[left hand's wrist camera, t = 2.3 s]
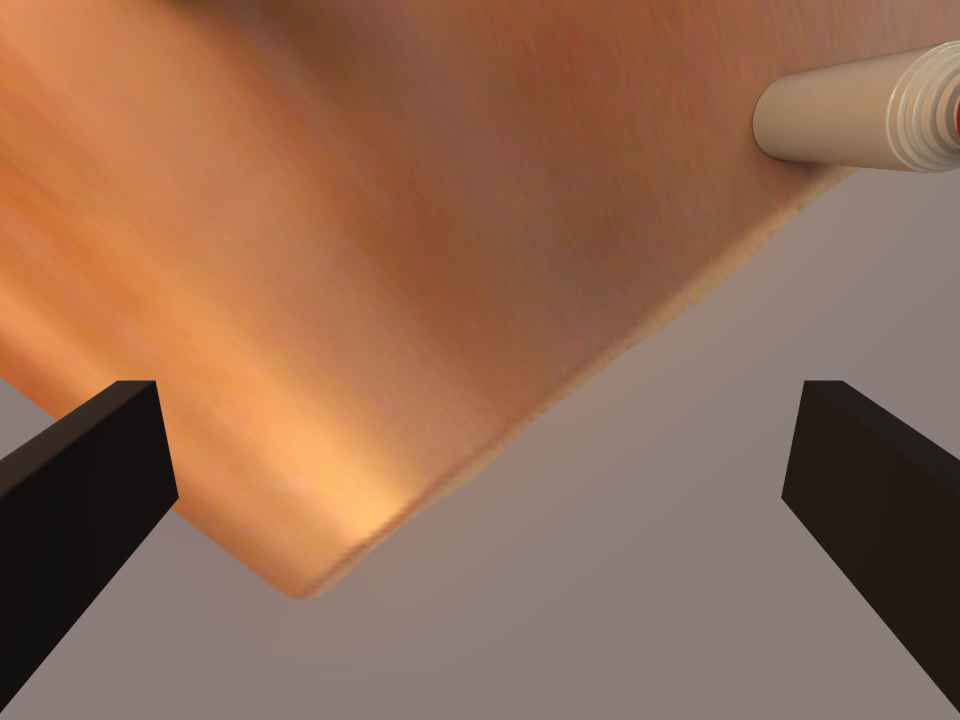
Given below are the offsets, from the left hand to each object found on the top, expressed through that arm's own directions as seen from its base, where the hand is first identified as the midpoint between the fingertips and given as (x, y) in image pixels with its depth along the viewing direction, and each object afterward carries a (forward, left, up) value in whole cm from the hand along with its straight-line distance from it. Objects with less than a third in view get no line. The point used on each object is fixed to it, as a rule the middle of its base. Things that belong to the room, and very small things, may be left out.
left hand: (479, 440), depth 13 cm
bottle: (-7, +19, -28) cm, 34 cm away
